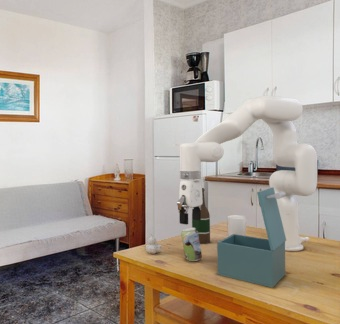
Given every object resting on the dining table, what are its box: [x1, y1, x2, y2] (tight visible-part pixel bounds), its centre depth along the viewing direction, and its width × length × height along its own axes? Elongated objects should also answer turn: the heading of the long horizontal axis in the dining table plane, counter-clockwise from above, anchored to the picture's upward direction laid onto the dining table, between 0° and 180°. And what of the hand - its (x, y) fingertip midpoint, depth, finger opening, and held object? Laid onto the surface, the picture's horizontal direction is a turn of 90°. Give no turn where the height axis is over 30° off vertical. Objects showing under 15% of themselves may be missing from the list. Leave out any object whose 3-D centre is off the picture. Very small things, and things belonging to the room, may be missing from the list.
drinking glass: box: [226, 214, 247, 237], centre depth 130 cm, size 7×7×15 cm
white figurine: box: [145, 233, 163, 255], centre depth 136 cm, size 5×7×8 cm
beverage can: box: [180, 227, 203, 262], centre depth 126 cm, size 6×7×12 cm
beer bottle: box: [191, 187, 211, 245], centre depth 150 cm, size 8×8×24 cm
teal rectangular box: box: [216, 234, 286, 289], centre depth 110 cm, size 17×14×11 cm
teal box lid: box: [256, 187, 286, 250], centre depth 104 cm, size 17×14×5 cm
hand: (190, 221), depth 126 cm, fingers open, 9 cm apart
